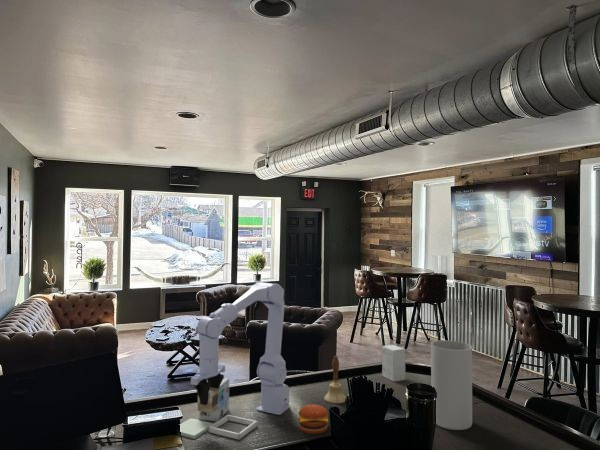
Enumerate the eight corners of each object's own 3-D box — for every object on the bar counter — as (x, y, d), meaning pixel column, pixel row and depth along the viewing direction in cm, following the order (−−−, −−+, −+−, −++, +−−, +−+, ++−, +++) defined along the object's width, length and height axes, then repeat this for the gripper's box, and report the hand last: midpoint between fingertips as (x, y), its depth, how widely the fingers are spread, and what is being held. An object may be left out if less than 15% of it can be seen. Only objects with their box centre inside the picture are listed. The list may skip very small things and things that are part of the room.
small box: (405, 380, 178) (405, 348, 179) (393, 382, 176) (393, 350, 176) (393, 374, 186) (393, 344, 186) (381, 376, 183) (381, 345, 183)
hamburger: (330, 433, 130) (330, 411, 130) (299, 435, 129) (299, 413, 129) (326, 420, 139) (326, 400, 139) (296, 421, 138) (296, 401, 138)
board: (213, 426, 134) (213, 423, 134) (194, 438, 126) (194, 435, 126) (190, 421, 138) (190, 418, 138) (171, 432, 129) (171, 429, 129)
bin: (257, 425, 134) (257, 421, 134) (239, 439, 125) (239, 434, 125) (227, 419, 139) (227, 414, 139) (208, 432, 130) (208, 427, 130)
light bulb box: (217, 422, 137) (218, 388, 138) (198, 420, 139) (198, 386, 139) (229, 408, 148) (229, 377, 148) (211, 407, 149) (211, 376, 149)
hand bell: (351, 400, 156) (351, 356, 156) (333, 405, 151) (333, 360, 152) (336, 393, 163) (337, 351, 163) (319, 398, 158) (319, 354, 158)
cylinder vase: (473, 434, 129) (472, 351, 130) (430, 427, 134) (430, 347, 134) (471, 417, 141) (471, 342, 142) (432, 412, 146) (432, 339, 146)
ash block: (211, 413, 127) (211, 393, 127) (197, 410, 129) (197, 390, 129) (219, 408, 130) (219, 388, 131) (205, 405, 133) (206, 386, 133)
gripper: (212, 349, 138) (212, 391, 138) (182, 361, 125) (182, 407, 125) (230, 352, 135) (230, 395, 135) (202, 364, 122) (201, 412, 122)
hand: (208, 401), depth 130 cm, fingers closed on ash block, 4 cm apart
